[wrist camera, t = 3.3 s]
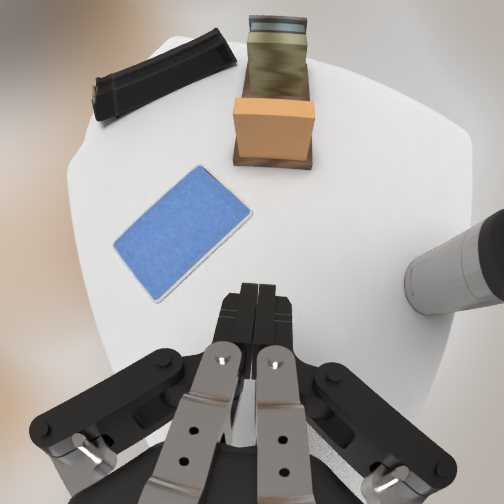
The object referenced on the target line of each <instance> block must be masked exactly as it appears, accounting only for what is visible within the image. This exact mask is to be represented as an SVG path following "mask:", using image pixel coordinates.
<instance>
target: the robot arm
mask: <svg viewBox="0 0 504 504" xmlns="http://www.w3.org/2000/svg"><path fill="white" fill-rule="evenodd" d="M275 292H276V285H270V284H260V285H259V294H258V284H254V283H242V285H241V291H240V294H237V293H229V294H228V295H227V296H226V297H225V298H224V300H223V302H222V306H221V310H220V314H219V318H218V322H217V325H216V329H215V333H214V337H213V341H212V344H211V345H209V346H208V347H207V348H206V349H205V351H204V352H202V353H200V354H197V355H192V356H184V357H181V355H180V354H179V353H178V352H177V351H175V350H173V349H169V348H162V349H158V350H156V351H154V352H152V353H150V354H149V355H147V356H145V357H144V358H142V359H140V360H138V361H137V362H135V363H133V364H132V365H130V366H128V367H126V368H125V369H123V370H121V371H119V372H118V373H116V374H114V375H112V376H111V377H109V378H107V379H105V380H104V381H102V382H100V383H98V384H96V385H95V386H93V387H91V388H89V389H88V390H86V391H84V392H82V393H80V394H78V395H77V396H75V397H73V398H71V399H69V400H67V401H66V402H64V403H62V404H60V405H58V406H57V407H54V408H52V409H51V410H49V411H47V412H45V413H43V414H41V415H39V416H37V417H36V418H35V419H34V420H33V421H32V422H31V425H30V428H29V434H30V438H31V440H32V441H33V443H34V444H35V445H36V446H38V447H39V448H41V449H42V450H43V451H44V452H45V453H46V454H48V455H49V456H50V458H51V459H52V461H53V463H54V465H55V467H56V469H57V471H58V473H59V475H60V477H61V479H62V480H63V482H64V484H65V486H66V488H67V489H68V491H69V492H70V494H71V496H72V498H71V499H70V501H69V503H68V504H364V503H363V502H362V501H361V500H360V499H359V498H358V497H357V496H356V495H355V494H354V493H353V492H352V491H351V490H350V489H349V488H348V487H347V486H346V485H345V484H344V483H343V482H342V481H341V480H340V479H339V478H338V477H337V476H336V475H335V474H334V473H333V472H332V471H331V469H330V468H329V467H328V466H327V465H326V464H325V463H323V462H322V461H321V460H319V459H318V458H316V457H314V456H312V455H310V454H309V446H308V436H307V427H306V421H307V422H308V424H309V425H310V426H311V427H312V428H313V429H314V430H315V431H316V432H317V433H318V434H319V435H320V436H321V437H322V438H323V439H324V440H325V441H326V442H327V443H328V444H329V445H330V446H331V447H332V448H333V449H334V450H335V451H336V452H337V453H338V454H339V455H340V456H341V457H342V458H343V459H344V460H345V461H346V462H347V463H348V464H349V465H350V466H351V467H352V468H354V469H355V470H356V471H357V472H358V473H359V474H360V475H361V476H362V477H363V478H364V480H363V481H362V484H361V493H362V495H363V497H364V498H365V499H366V501H367V503H368V504H422V503H423V502H424V500H426V498H427V497H428V496H429V495H431V494H433V493H435V492H437V491H439V490H441V489H443V488H445V487H447V486H449V485H450V484H451V483H452V482H453V480H454V479H455V477H456V474H457V465H456V462H455V460H454V458H453V457H452V456H451V455H449V454H448V453H447V452H445V451H444V450H443V449H442V448H441V447H439V446H438V445H437V444H436V443H435V442H433V441H432V440H431V439H430V438H428V437H427V436H426V435H425V434H424V433H422V432H421V431H420V430H419V429H418V428H416V427H415V426H414V425H413V424H412V423H411V422H409V421H408V420H407V419H406V418H405V417H403V416H402V415H401V414H400V413H399V412H397V411H396V410H395V409H394V408H393V407H392V406H390V405H389V404H388V403H387V402H386V401H385V400H383V399H382V398H381V397H380V396H379V395H378V394H376V393H375V392H374V391H373V390H372V389H371V388H369V387H368V386H367V385H366V384H365V383H364V382H363V381H361V380H360V379H359V378H358V377H357V376H356V375H355V374H353V373H352V372H351V371H350V370H349V369H348V368H347V367H345V366H344V365H342V364H339V363H334V362H329V363H325V364H323V365H321V366H320V367H319V368H318V367H315V366H312V365H309V364H306V363H304V362H302V361H301V360H299V359H298V358H297V357H296V355H295V354H294V351H293V334H292V305H291V303H290V301H289V300H288V298H287V297H281V296H275ZM405 292H406V295H407V298H408V300H409V302H410V304H411V305H412V307H413V308H414V309H415V310H417V311H418V312H420V313H422V314H425V315H434V314H442V313H450V312H457V311H463V310H469V309H475V308H481V307H487V306H492V305H497V304H502V303H504V209H502V210H500V211H498V212H496V213H494V214H493V215H491V216H490V217H488V218H486V219H485V220H483V221H481V222H480V223H478V224H476V225H475V226H473V227H472V228H470V229H468V230H466V231H465V232H463V233H461V234H460V235H458V236H456V237H454V238H452V239H451V240H449V241H447V242H445V243H444V244H442V245H440V246H438V247H436V248H434V249H433V250H431V251H429V252H427V253H425V254H423V255H421V256H419V257H417V258H416V259H415V260H413V261H412V263H411V264H410V265H409V267H408V269H407V271H406V275H405ZM257 302H258V304H257ZM252 355H253V356H252ZM251 364H252V379H253V380H256V382H255V403H254V446H249V447H242V448H238V447H234V446H231V444H232V436H233V430H234V426H235V421H236V417H237V413H238V408H239V404H240V400H241V395H242V391H243V386H244V379H250V373H251ZM171 420H173V421H172V423H171V426H170V429H169V431H168V434H167V437H166V439H165V441H163V442H161V443H158V444H156V445H154V446H152V447H150V448H149V449H147V450H146V451H144V452H143V453H141V454H140V455H138V456H137V457H135V458H134V459H132V460H131V461H129V462H128V463H126V464H125V465H123V466H122V467H120V468H118V469H117V470H115V471H114V472H112V473H110V472H111V471H112V470H113V469H114V468H115V466H116V464H117V456H116V455H117V454H118V453H120V452H122V451H124V450H125V449H127V448H129V447H130V446H132V445H134V444H135V443H137V442H139V441H140V440H142V439H143V438H145V437H147V436H148V435H150V434H151V433H153V432H154V431H156V430H157V429H159V428H161V427H162V426H164V425H165V424H167V423H168V422H170V421H171ZM108 473H110V474H109V475H108Z"/></svg>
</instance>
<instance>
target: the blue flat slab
mask: <svg viewBox="0 0 504 504" xmlns="http://www.w3.org/2000/svg"><path fill="white" fill-rule="evenodd" d="M252 216H253V210H252V209H251V208H250V207H249V206H248V205H247V204H246V203H245V202H244V201H243V200H242V199H241V198H239V197H238V196H237V195H236V194H235V193H234V192H233V191H232V190H231V189H230V188H229V187H227V186H226V185H225V184H224V183H223V182H222V181H221V180H220V179H219V178H218V177H216V176H215V175H214V174H213V173H212V172H211V171H210V170H209V169H208V168H206V167H205V166H204V165H202V164H199V165H197V166H195V167H194V168H193V169H192V170H190V171H189V172H188V173H187V174H186V175H185V176H183V177H182V178H181V179H180V180H179V181H178V182H176V183H175V184H174V185H173V186H172V187H171V188H170V189H169V190H167V191H166V192H165V193H164V194H163V195H162V196H161V197H160V198H158V199H157V200H156V201H155V202H154V203H153V204H152V205H151V206H150V207H149V208H148V209H146V210H145V211H144V212H143V213H142V214H141V215H140V216H139V217H138V218H137V219H136V220H135V221H134V222H133V223H132V224H131V225H130V226H129V227H128V228H127V229H126V230H125V231H124V232H123V233H121V234H120V235H119V236H118V237H117V239H115V240H114V242H113V245H112V246H113V249H114V251H115V252H116V253H117V255H118V256H119V257H120V259H121V260H122V262H123V263H124V264H125V266H126V267H127V268H128V270H129V271H130V272H131V274H132V275H133V276H134V278H135V279H136V280H137V282H138V283H139V284H140V286H141V287H142V288H143V289H144V291H145V292H146V293H147V295H148V296H149V297H150V298H151V300H152V301H153V302H155V303H160V302H161V301H162V300H163V299H164V298H165V297H166V296H167V295H168V294H170V293H171V292H172V291H173V290H174V289H175V288H176V287H177V286H178V285H179V284H180V283H181V282H182V281H183V280H184V279H185V278H186V277H187V276H188V275H189V274H190V273H191V272H193V271H194V270H195V269H196V268H197V267H198V266H199V265H200V264H201V263H202V262H203V261H204V260H205V259H206V258H207V257H208V256H210V255H211V254H212V253H213V252H214V251H215V250H216V249H217V248H218V247H219V246H220V245H221V244H222V243H224V242H225V241H226V240H227V239H228V238H229V237H230V236H232V235H233V234H234V233H235V231H237V230H238V229H239V228H240V227H241V226H242V225H243V224H244V223H245V222H247V221H248V220H249V219H250V218H251V217H252Z"/></svg>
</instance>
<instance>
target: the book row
mask: <svg viewBox="0 0 504 504" xmlns="http://www.w3.org/2000/svg"><path fill="white" fill-rule="evenodd" d="M249 26H250V32H249V34H248V40H247V51H248V63H247V69H246V75H245V81H244V88H243V94H242V98H266V99H285V100H299V101H310V98H309V83H308V70H307V64H305V62H306V52H307V39H306V28H307V18H300V17H286V16H264V15H261V16H259V15H256V16H255V15H250V16H249ZM233 164H234V165H236V166H261V167H279V168H293V169H306V170H311V168H312V136H311V140H310V145H309V149H308V154H307V158H306V161H297V160H283V159H266V158H242V157H239V150H238V144H237V137H236V141H235V148H234V155H233Z"/></svg>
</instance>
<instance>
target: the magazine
mask: <svg viewBox="0 0 504 504" xmlns="http://www.w3.org/2000/svg"><path fill="white" fill-rule="evenodd" d="M234 62H235V63H236V62H237V60H236V58H235V56H234V54H233V53H232V51H231V49H230V47H229V45H228V44H227V42H226V40H225V39H224V37H223V36H222V34H221V33H220V31H219V30H218V28H214V29H213V30H212V31H210V32H208V33H206V34H204V35H202V36H200V37H198V38H196V39H194V40H192V41H190V42H188V43H185V44H183V45H180V46H178V47H176V48H174V49H171V50H169V51H167V52H165V53H163V54H160V55H158V56H156V57H154V58H151V59H149V60H146V61H144V62H141V63H139V64H137V65H134V66H131V67H129V68H126V69H124V70H121V71H119V72H116V73H113V74H110V75H108V76H106V77H103V78H99V77H98V78H96V86H95V87H94V85H93V86H92V104H93V109H94V114H95V118H96V120H97V121H103V120H106V119H108V118H111V117H114V116H116V118H118V116H119V114H122V113H124V112H127V111H129V110H131V109H134V108H136V107H139V106H141V105H144V104H147V103H149V102H151V101H154V100H156V99H158V98H161V97H163V96H165V95H167V94H169V93H171V92H174V91H176V90H178V89H180V88H182V87H184V86H187V85H189V84H191V83H193V82H195V81H197V80H199V79H201V78H203V77H205V76H207V75H209V74H211V73H213V72H215V71H217V70H219V69H221V68H223V67H225V66H227V65H230V64H232V63H234Z"/></svg>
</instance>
